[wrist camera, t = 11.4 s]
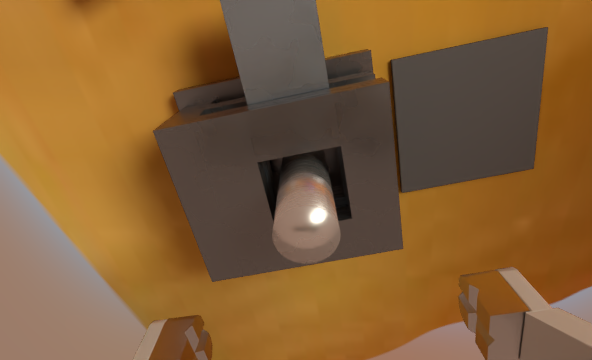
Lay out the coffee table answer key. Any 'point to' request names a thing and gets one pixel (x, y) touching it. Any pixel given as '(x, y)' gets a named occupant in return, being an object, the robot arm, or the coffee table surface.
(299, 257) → the steel pin
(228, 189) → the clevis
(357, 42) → the coffee table surface
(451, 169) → the rubber mat
